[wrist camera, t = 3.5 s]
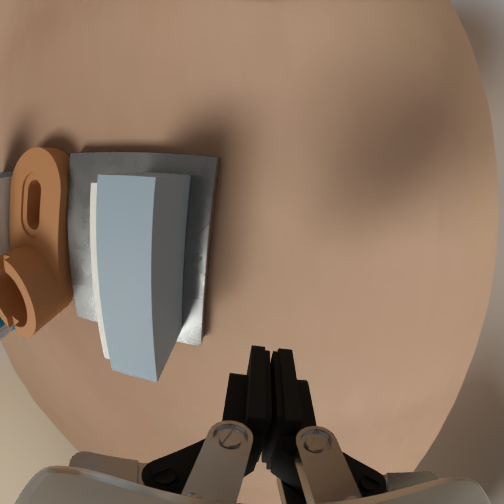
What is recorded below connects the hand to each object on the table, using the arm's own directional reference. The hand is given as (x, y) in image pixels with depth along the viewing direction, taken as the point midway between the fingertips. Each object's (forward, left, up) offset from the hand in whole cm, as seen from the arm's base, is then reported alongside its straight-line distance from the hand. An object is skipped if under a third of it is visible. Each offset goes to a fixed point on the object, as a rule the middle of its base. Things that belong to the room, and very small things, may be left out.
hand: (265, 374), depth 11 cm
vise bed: (+11, -1, -12) cm, 17 cm away
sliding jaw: (+8, -1, -11) cm, 13 cm away
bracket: (+23, 0, -13) cm, 26 cm away
